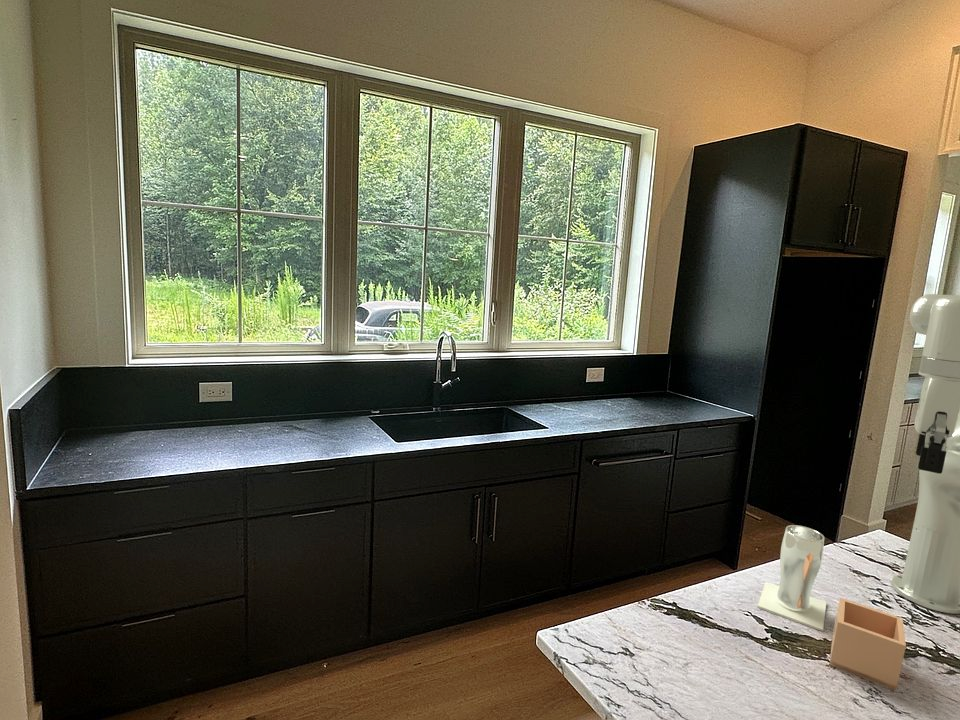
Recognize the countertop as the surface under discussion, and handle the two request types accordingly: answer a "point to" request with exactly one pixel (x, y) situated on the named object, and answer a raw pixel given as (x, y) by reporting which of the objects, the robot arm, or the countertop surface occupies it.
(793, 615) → the plain cream tile
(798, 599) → the beer glass
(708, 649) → the countertop surface
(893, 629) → the open box
